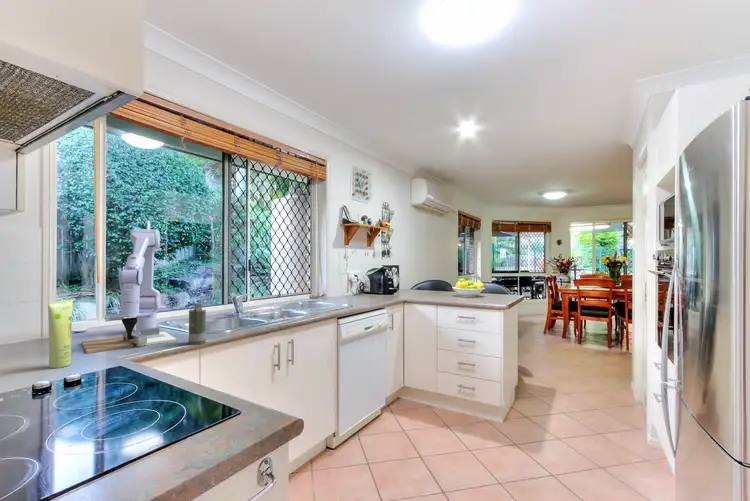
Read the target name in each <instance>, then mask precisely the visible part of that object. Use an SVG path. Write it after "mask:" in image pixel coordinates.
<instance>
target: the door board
mask: <svg viewBox="0 0 750 501" xmlns="http://www.w3.org/2000/svg"><path fill="white" fill-rule="evenodd" d="M141 334H142V335H145V336H147V343H144V344H136V343H133V344H134V346H136V347H137V346H139V347H145V346H144V345H146V346H152V345H151V344H153V345H160V344H159V343H161V344H166V343H167V342H168V343H175V342H177V340H178V339H177V338H176V337H174V336H173V335H171V334H170V333H168V332H166V331H160V327H157V326H156V328H147V329H141ZM174 341H175V342H174Z"/></svg>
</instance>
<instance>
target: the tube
mask: <svg viewBox="0 0 750 501" xmlns="http://www.w3.org/2000/svg"><path fill="white" fill-rule="evenodd" d="M73 303H74V300H73V298H72V299H66V300H65V299H64V300H60V301H52V302H48V303H47V310H48V312H47V314H48V342H49V343H48V350H49V351H48V367H49V368H50V369H60V368H64V367H68V366H70V365H71V362H72V360H71V357H72V325H73V322H72V321H73V320H72V319H73V307H74V306H73Z"/></svg>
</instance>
